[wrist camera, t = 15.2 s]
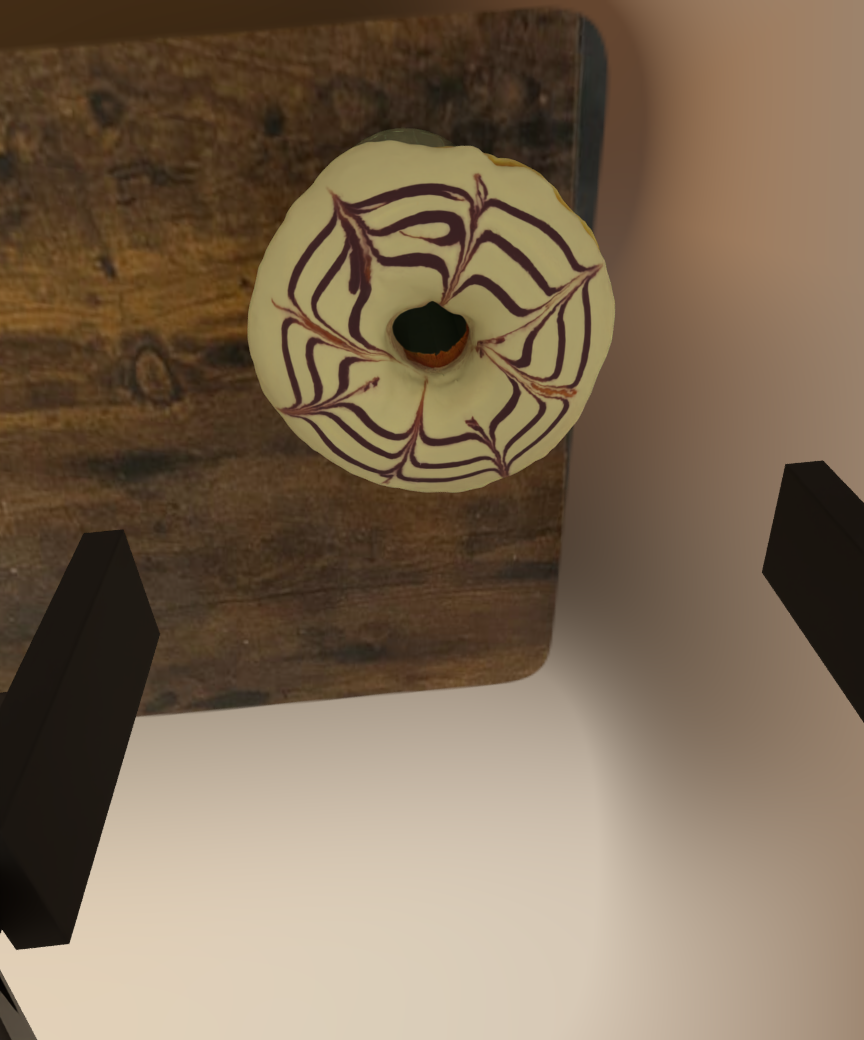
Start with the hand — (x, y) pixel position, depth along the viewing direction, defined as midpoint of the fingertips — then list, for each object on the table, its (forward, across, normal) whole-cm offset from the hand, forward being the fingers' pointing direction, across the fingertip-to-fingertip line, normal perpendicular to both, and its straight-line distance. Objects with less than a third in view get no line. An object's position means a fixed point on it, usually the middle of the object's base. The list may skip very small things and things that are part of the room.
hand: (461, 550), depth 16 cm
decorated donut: (+12, 0, +1) cm, 12 cm away
